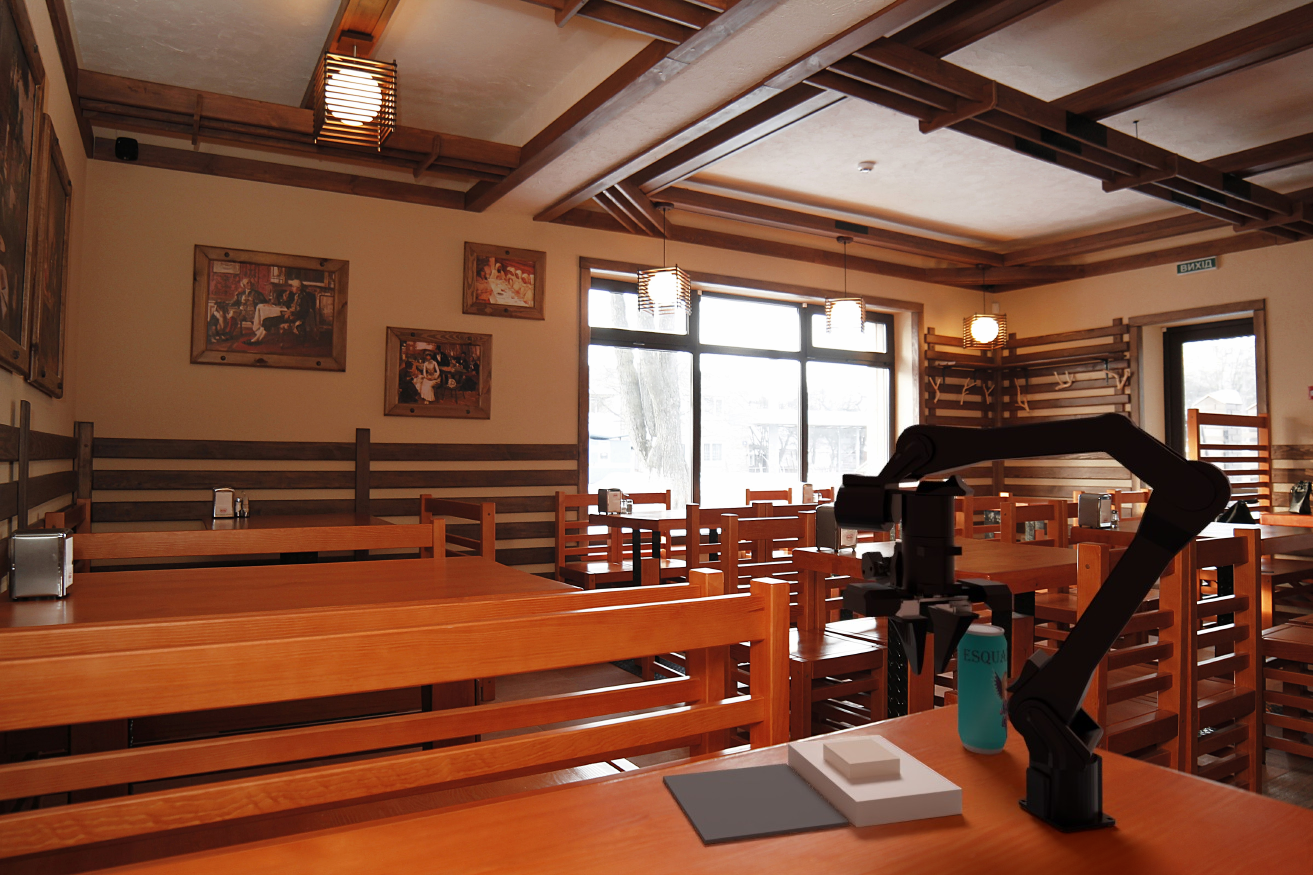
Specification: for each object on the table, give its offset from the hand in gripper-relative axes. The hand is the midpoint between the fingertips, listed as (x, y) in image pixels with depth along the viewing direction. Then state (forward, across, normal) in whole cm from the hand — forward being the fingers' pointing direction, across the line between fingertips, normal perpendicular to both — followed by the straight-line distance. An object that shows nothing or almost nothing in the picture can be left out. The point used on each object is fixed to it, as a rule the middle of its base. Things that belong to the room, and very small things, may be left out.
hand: (927, 673), depth 88 cm
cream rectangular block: (+10, +8, 0) cm, 13 cm away
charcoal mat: (+12, +22, 0) cm, 25 cm away
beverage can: (+12, -12, -7) cm, 19 cm away
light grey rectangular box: (+12, +8, 0) cm, 14 cm away
